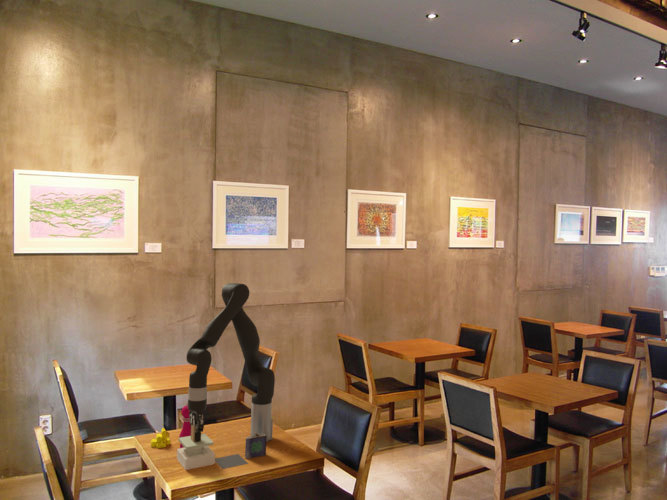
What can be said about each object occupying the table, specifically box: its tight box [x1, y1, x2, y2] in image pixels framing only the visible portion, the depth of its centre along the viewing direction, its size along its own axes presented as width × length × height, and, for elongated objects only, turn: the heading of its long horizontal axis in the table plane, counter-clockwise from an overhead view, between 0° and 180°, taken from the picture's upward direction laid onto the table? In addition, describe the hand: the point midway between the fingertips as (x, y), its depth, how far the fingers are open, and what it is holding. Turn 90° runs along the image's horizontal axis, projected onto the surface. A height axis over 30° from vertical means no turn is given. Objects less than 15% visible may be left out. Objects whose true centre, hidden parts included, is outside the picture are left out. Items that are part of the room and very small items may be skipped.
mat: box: [215, 453, 249, 470], centre depth 211 cm, size 11×11×1 cm
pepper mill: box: [178, 401, 191, 448], centre depth 224 cm, size 7×7×20 cm
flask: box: [244, 431, 267, 460], centre depth 217 cm, size 9×3×11 cm, turn 121°
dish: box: [176, 446, 216, 471], centre depth 209 cm, size 12×12×4 cm
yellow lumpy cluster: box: [150, 427, 171, 449], centre depth 226 cm, size 6×8×8 cm
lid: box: [178, 425, 214, 450], centre depth 209 cm, size 11×11×7 cm
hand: (196, 439), depth 209 cm, fingers closed on lid, 3 cm apart
